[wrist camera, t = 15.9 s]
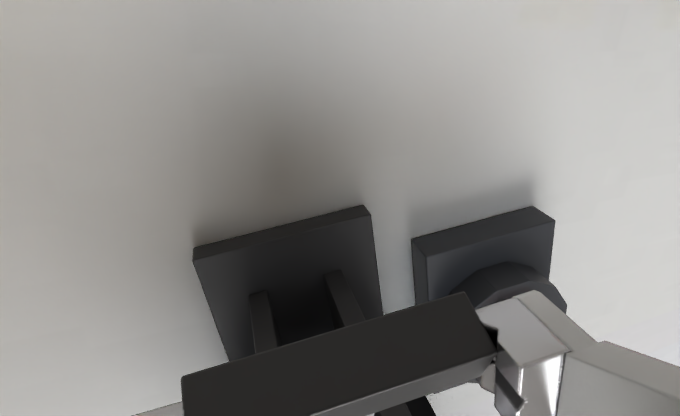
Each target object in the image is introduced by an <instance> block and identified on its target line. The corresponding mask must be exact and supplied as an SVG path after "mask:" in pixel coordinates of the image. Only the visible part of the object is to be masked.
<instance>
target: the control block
mask: <svg viewBox="0 0 680 416" xmlns="http://www.w3.org/2000/svg"><path fill="white" fill-rule="evenodd" d="M554 228H555V220H554V219H552V218H551V217H549V216H548V215H546V214H545V213H543V212H541V211H540V210H538V209H537V208H535V207H533V206H532V207H528V208H524V209H521V210H517V211H513V212H510V213H506V214H502V215H499V216H495V217H492V218H488V219H484V220H481V221H477V222H473V223H470V224H466V225H462V226H459V227H455V228H451V229H448V230H444V231H441V232H437V233H433V234H430V235H426V236H422V237H419V238H415V239H412V254H413V267H414V281H415V295H416V305H419V304H422V303H425V302H429V301H432V300H435V299H439V298H442V297H445V296H448V295H452V294H455V293H458V292H462V291H464V292H465V293H466V295H467V296H468V298H469V300H470V302H471V304H472V306H473V307H474V309H476V308H479V307H482V306H485V305H488V304H492V303H495V302H498V301H501V300H504V299H507V298H512V297H513V296H517V295H520V294H523V293H526V292H529V291H532V290H536V291H539V292H541V293H542V294H543V295H544V296H545V297H546V298H548V299H549V300H550V301H551V302H552V303H553V304H554V305H556V306H557V307H558V308H559V309H560V310H561V311H562V312H564V313H565V314H566V309H567V304H566V302H565V301H564V299H563V298H562V296H561V295H560V293H559V292H558V290H557V288H556V287H555V286H554V285H553V284H552V283H551V282H549V273H550V264H551V255H552V246H553V237H554ZM468 382H469V383H478V382H477V380H476V379H472V380H469V381H466V382H463V383H460V384H458V385H455V386H452V387H449V388H446V389H443V390H440V391H437V392H434V394H436V393H439V392H441V391H444V390H447V389H450V388H453V387H456V386H459V385H462V384H465V383H468Z"/></svg>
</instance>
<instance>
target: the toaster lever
mask: <svg viewBox="0 0 680 416" xmlns="http://www.w3.org/2000/svg"><path fill="white" fill-rule="evenodd" d="M478 317H479V316H478V315H477V313H476V311H475V309H474V307H473V306H472V304H471V302H470V300H469V298H468V296H467V295H466V293H465V292H464V291H462V292H458V293H455V294H452V295H448V296H445V297H442V298H439V299H435V300H432V301H429V302H425V303H422V304H419V305H416V306H412V307H409V308H406V309H402V310H399V311H396V312H392V313H389V314H386V315H383V316H379V317H376V318H373V319H369V320H366V321H363V322H359V323H356V324H353V325H350V326H346V327H343V328H340V329H336V330H333V331H330V332H326V333H323V334H320V335H317V336H313V337H310V338H307V339H303V340H300V341H297V342H294V343H290V344H287V345H284V346H280V347H277V348H274V349H270V350H267V351H264V352H261V353H257V354H254V355H251V356H247V357H244V358H241V359H237V360H234V361H231V362H228V363H224V364H221V365H218V366H214V367H211V368H208V369H204V370H201V371H198V372H195V373H191V374H188V375H185V376H183V377H182V378H181V390H182V404H183V410H184V414H185V416H374V413H376V412H379V411H382V410H385V409H388V408H390V407H393V406H396V405H399V404H402V403H405V402H408V401H411V400H414V399H417V398H420V397H423V396H425V395H428V394H431V393H434V392H437V391H440V390H443V389H446V388H449V387H452V386H455V385H458V384H460V383H463V382H466V381H469V380H472V379H475V378H478V377H481V375H482V374H483V373H484V371H485V370H486V369H487V367H488V366H489V364H490V363H491V361H492V360H493V359H494V357H495V356H496V354H497V349H496V347H495V345H494V344H493V342H492V340H491V338H490V336H489V335H488V333H487V331H486V329H485V328H484V327H483V325H482V324H481V322H480V320H479V318H478Z"/></svg>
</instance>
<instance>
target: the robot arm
mask: <svg viewBox="0 0 680 416" xmlns="http://www.w3.org/2000/svg"><path fill="white" fill-rule="evenodd" d="M475 311H476V313H477V315H478V316H479V317H478V318H479V320H480V322H481V324H482V325H483V327H484V328H485V329H486V331H487V333H488V335H489V336H490V338H491V340H492V342H493V344H494V345H495V347H496V349H497V354H496V356H495V357H494V359H493V360H492V361H491V363H490V364H489V366H488V367H487V369H486V370H485V371H484V373H483V374H482V375H481V377H478V378H475V379H476V380H477V382H478V383H479V385H480V386H481V388H483V389H485V390H487V391H489V392H491V393H493V394H495V403H494V406H495V408H496V409H497V411H498V412H499V413H500V415H501V416H680V367H678V366H676V365H673V364H670V363H667V362H664V361H661V360H659V359H656V358H653V357H650V356H647V355H644V354H641V353H639V352H636V351H633V350H630V349H627V348H624V347H622V346H619V345H616V344H613V343H610V342H607V341H602V342H597V341H595V340H594V339H593V338H592V337H591V336H590V335H589V334H587V333H586V332H585V331H584V330H583V329H582V328H581V327H579V326H578V325H577V324H576V323H575V322H574V321H573V320H571V319H570V318H569V317H568V316H567V315H566V314H565V313H564V312H562V311H561V310H560V309H559V308H558V307H557V306H556V305H554V304H553V303H552V302H551V301H550V300H549V299H548V298H546V297H545V296H544V295H543V294H542V293H541V292H539V291H536V290H532V291H529V292H526V293H523V294H520V295H517V296H513V297H512V298H507V299H504V300H501V301H498V302H495V303H492V304H488V305H485V306H482V307H479V308H476V309H475ZM133 416H185V414H184V410H183V404H182V401H181V402H178V403H174V404H171V405H167V406H164V407H160V408H157V409H153V410H150V411H146V412H143V413H140V414H136V415H133Z"/></svg>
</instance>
